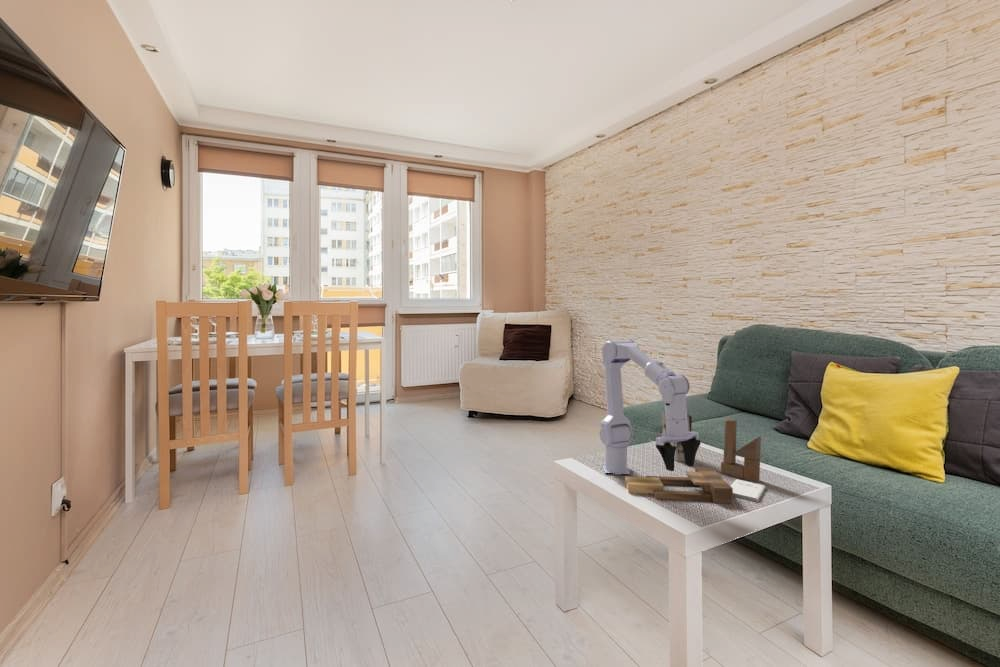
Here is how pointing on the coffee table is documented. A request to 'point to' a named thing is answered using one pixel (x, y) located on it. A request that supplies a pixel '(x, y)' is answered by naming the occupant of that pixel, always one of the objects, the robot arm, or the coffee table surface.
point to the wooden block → (748, 452)
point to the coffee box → (679, 450)
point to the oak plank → (643, 484)
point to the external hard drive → (747, 490)
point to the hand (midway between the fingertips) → (680, 468)
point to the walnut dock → (705, 478)
